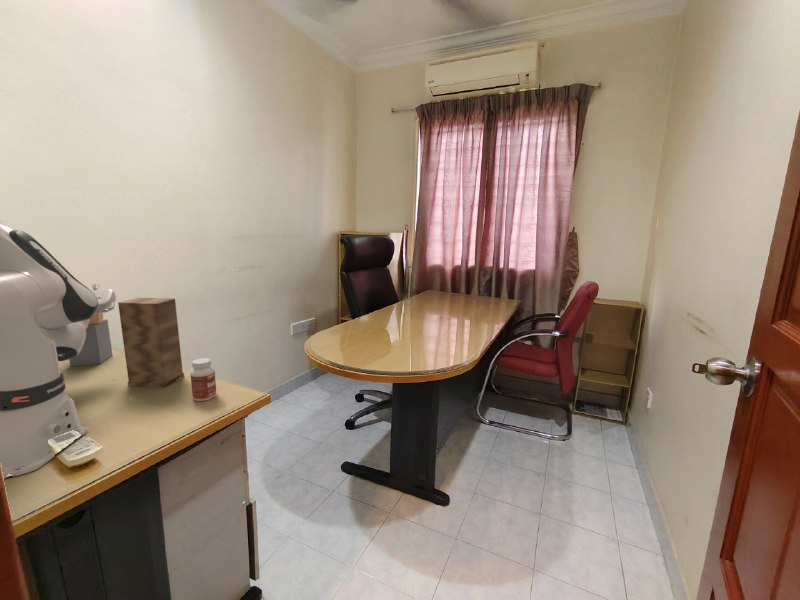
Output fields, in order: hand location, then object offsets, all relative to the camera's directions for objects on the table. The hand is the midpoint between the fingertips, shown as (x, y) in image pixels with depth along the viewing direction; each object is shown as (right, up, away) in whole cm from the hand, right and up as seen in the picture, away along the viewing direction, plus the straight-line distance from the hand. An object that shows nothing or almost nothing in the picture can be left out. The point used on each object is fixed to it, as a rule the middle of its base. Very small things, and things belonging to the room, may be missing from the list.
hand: (78, 287), depth 119 cm
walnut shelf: (+26, -30, -1) cm, 39 cm away
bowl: (-8, -12, +12) cm, 19 cm away
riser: (-8, -26, +15) cm, 31 cm away
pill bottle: (+46, -32, -11) cm, 58 cm away
